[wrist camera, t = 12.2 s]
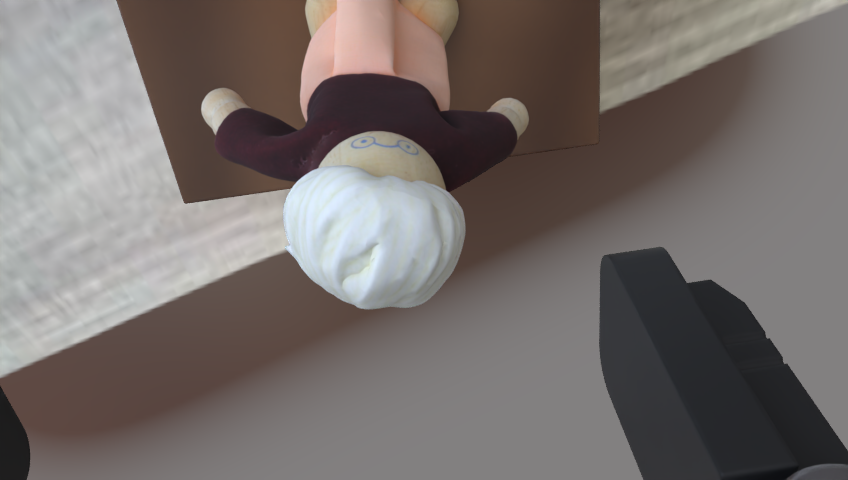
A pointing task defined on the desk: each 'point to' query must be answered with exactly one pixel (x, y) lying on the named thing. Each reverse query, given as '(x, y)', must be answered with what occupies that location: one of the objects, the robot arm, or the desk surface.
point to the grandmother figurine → (372, 150)
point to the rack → (284, 57)
